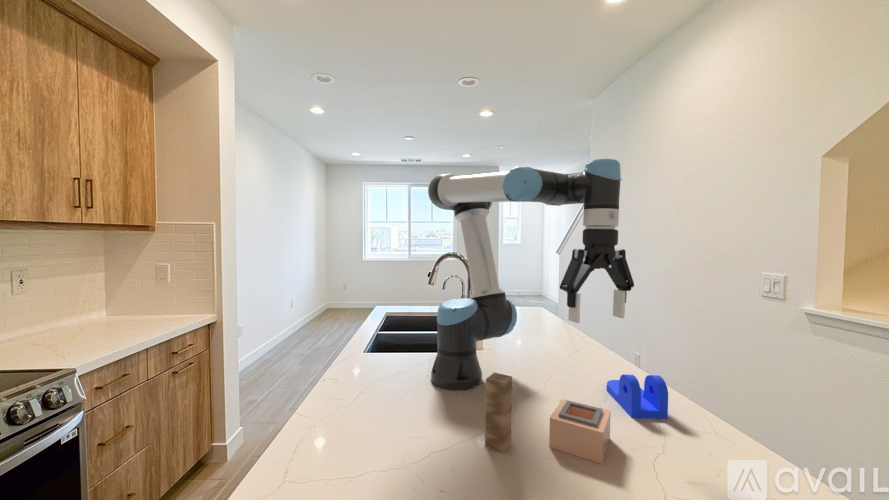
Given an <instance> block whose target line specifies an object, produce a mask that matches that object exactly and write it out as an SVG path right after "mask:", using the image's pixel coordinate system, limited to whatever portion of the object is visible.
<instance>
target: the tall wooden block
mask: <svg viewBox="0 0 889 500" xmlns="http://www.w3.org/2000/svg"><path fill="white" fill-rule="evenodd" d="M512 404H513V376H511V375H506V374H502V373H499V372H495V371H494V372H493V373H491V374H490V375H489V376H488V377H486V378H485V429H484V431H485V439H484V440H485V441H484V444H485V445H484V447H485V448H488V449H491V450H494V451H497V452H500V453H502V454H505V452H506V450H508V448H509V447H510V445H511V444H512V423H513V422H512V416H513V415H512V414H513V407H512V406H513V405H512Z"/></svg>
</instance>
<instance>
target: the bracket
mask: <svg viewBox="0 0 889 500" xmlns="http://www.w3.org/2000/svg"><path fill="white" fill-rule="evenodd" d="M668 391H669V390H668V386H667V384H666V381H665V380H664V378H663V377H662V376H661V375H656V374H655V375H654V374H650V375H649V374H648V375H646V376H645V379H644V383H643V389H642V388H641V385H640V383H639V380H638V377H636V376H635V375H634V374H626V373H625V374H621V375H620V377H619V379H610V380H608V381H607V382H606V392H607V393H608V394H609V395H610V397H612V399H613V400H614V401H615V402H616V403H617V404H618V405H619V406H620V407H621V409H622V410H623V411H624V412H625V413H626V414H627V415H629V417H630V418H632V419H652V420H653V419H654V420H655V419H656V420H658V419H659V420H668V417H669V413H668V412H669V411H668V410H669V392H668Z"/></svg>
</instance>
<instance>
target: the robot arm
mask: <svg viewBox="0 0 889 500" xmlns="http://www.w3.org/2000/svg"><path fill="white" fill-rule="evenodd" d="M583 170H584V171H581V172H574V173H573V172H572V173H559V172H554V171H548V170H543V169H537V168H533V167H530V166H515V167H513V168H512V169H510V170H507V171H497V172H489V173H480V174H471V175H469V174H468V175H458V174H454V173H442V174H439V175H437V176H435V177H434V178H433V179H432V180H430V182H429V185H428V189H427V194H428V198H429V199H430V202H431V203H432V204H433V205H434V206H435V207H437V208H439V209H441V210H449V211H454V218H455V220H457V221H458V222H459V223H460V226H461V231H462V237H463V243H464V248H465V249H464V250H465V255H466V260H467V264H468V265H467V266H468V271H469V277H470V283H471V288H472V293H471V295H470V297H469V298H464V297H463V298H454V299H449V300H446V301H443V302H442V303H440V305H439V306H438V308H437V317H436V322H437V329H436V330H437V334H436V335H437V336H436V337H437V338H436V339H437V340H436V341H437V342H436V343H437V347H436V349H437V351H436V356H435V359H434V362H433V365H432V369H431V373H430V374H431V375H430V377H431V378H430V380H431V382H432V383H433V384H434V386H435V385H436V386H437V387H439V388H443V389H447V390H453V391H454V390H455V391H456V390H457V391H459V390H461V391H462V390H468V389H472V388H475V387H478V386H479V385H481V383H482V381H483V372H482V368H481V365H480V361H479V358H478V355H477V342H479V341H484V340H489V339H494V338H500V337H504V336H506V335H508V334H511V332H512V331H513V330H514V328H515V326H516V324H517V321H518V315H517V313H518V312H517V308H516V306H515V304H514V303H513V302H512V300H511V299H509V298H507V295H506V291H504V290H503V289H502V288H501V287H500V285H499V280H498V273H497V270H496V269H497V268H496V264H495V258H494V253H493V249H492V243H491V237H490V232H489V227H488V221H487V216H489V214H490V209H491V207H492V205H493V203H500V202H501V203H502V202H503V203H505V202H506V203H507V202H510V203H512V202H513V203H514V202H515V203H520V202H521V203H522V202H523V203H526V202H531V203H543V204H545V206H546V205H547V206H557V207H558V206H565V205H576V204H578V205H579V204H583V215H582V216H583V217H582V226H583V227H585V228H584V229H583V230H582V244H583V246H584V249H582V248H580V249H579V248H573V250H572V254H571V259H570V261H569V264H568V266H567V268H566V271H565V273H564V276H563V277H562V280H561V282H560V284H559V289H560V290H562V291H564V292H566V305H567V307H568V316H567V317H568V319H567V320H568V321H570V322H573V323H575V324H579V323H580V318H581V317H580V316H581V293H578V292H579V291H580V289H581V288H582V286H583V285H584V283H585V282H586V280H587V279H588V277H589V276H590V274H591V273H592V272H594V271H595V270H599V269H604V270H605V271H606V273H607V274H608V276H609V277H610V279H611V281H612V282H613V284H614V285H615V287H616V289H615V288H614V289H613V299H612V302H613V305H612V317H615V318H620V319H625V316H626V315H625V310H626V303H627V294H628V293H627V292H630V291H632V288H634V287H635V282H634V279H633V276H632V272H631V270H630V268H629V265H628V261H627V258H626V257H627V256H626V253H627V252H626V250H625V249H624V248H615V247H616V246H617V245H618V244H619V230H618V229H616V228H617V227H619V222H620V221H619V215H620V194H621V181H622V178H621V176H622V175H621V174H622V173H621V163H620V162H619V161H618V160H617V159H613V158H597V159H596V158H595V159H592V160H589V161H587V162H586V163H585V166H584V169H583Z"/></svg>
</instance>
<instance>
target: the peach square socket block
mask: <svg viewBox="0 0 889 500" xmlns="http://www.w3.org/2000/svg"><path fill="white" fill-rule="evenodd" d="M611 415H612V414H611V410H609V409H606V408H605V409H604V408H602V407H597V406H593V405H589V404H583V403H580V402H576V401H572V400H567V399H564V398H562V399H561V400H560V402H559V404H558V405H557V406H556V407H555V409H554V411H553V413H552V414H551V415H550V417H549V439H548V440H549V441H548V445H549V448H552V449H556V450H558V451H562V452H565V453H568V454H570V455H574V456H576V457H580V458H583V459H587V460H590V461H592V462H595V463H598V464H601V465H603V463H604V460H605V457H606V453H607V450H608V446H609V443H610V439H611V417H612V416H611Z"/></svg>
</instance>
